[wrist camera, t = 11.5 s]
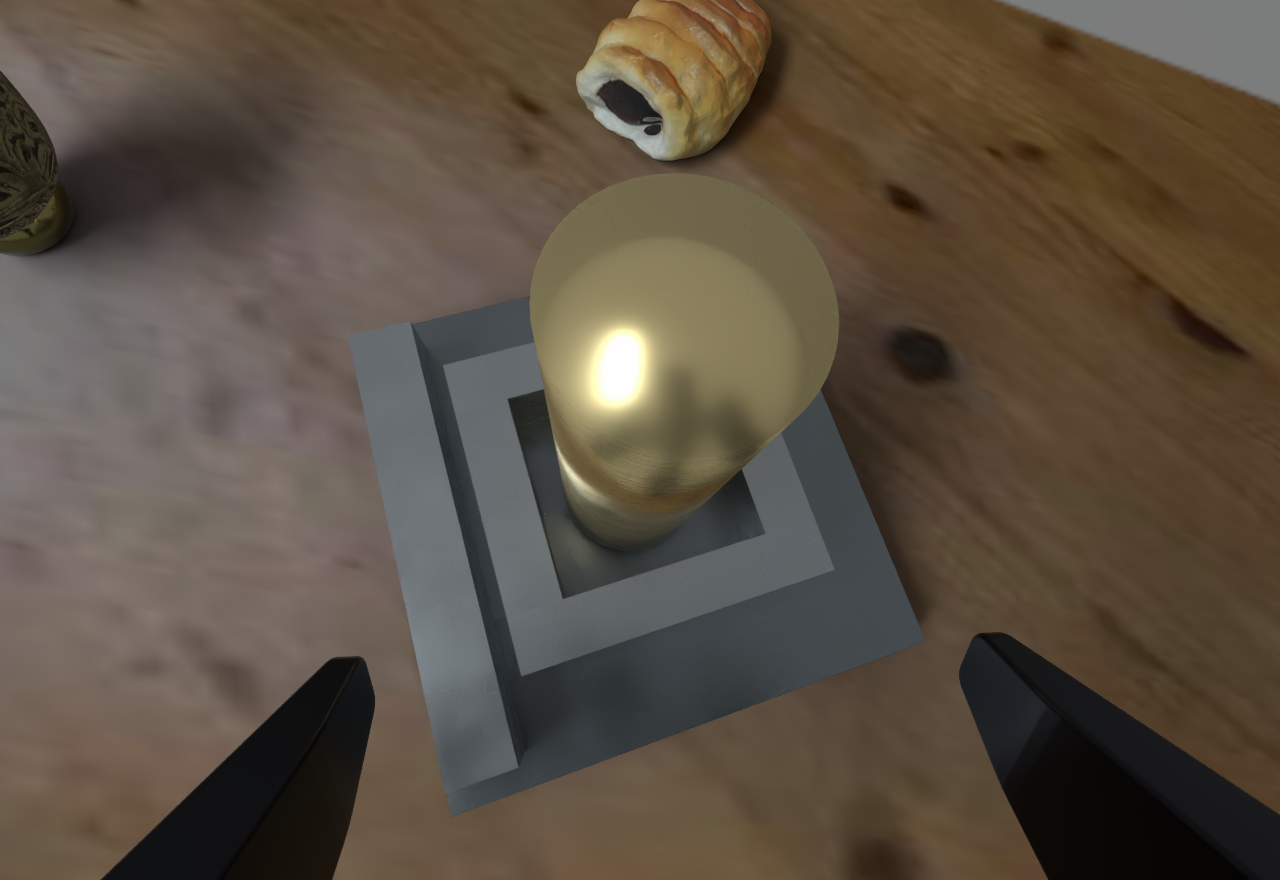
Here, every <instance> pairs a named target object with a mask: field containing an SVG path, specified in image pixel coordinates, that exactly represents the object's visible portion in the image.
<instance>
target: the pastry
mask: <svg viewBox="0 0 1280 880" xmlns="http://www.w3.org/2000/svg"><path fill="white" fill-rule="evenodd" d="M770 44H771V24H770V20H769V18H768V16H767V14H766V12H765V11H764V10H762V9H761V8H760V7H759V6H758V5H757V4H756V3H755V2H754V1H753V0H640V1H638V2H637V3H636V4H635V6H634V7H633V10H632V12H631V14H630V15H629V17H628V18H623V19H615V20H612V21H611V22H610V23H608V25H607V26H606V27H605V29H604V30H603V31H602V32H601V34H600V36H599V39H598V43H597V45H596V48H595V50H594V53H593V55H592V56H591V57H590V59H589V61H588V62H587V64H586V66H585V68H584V69H582V70H581V71H579V72H578V74H577V78H576V85H577V89H578V93H579V95H580V97H581V98H582V99H583V101H584V102H585V103H586V105H587V108H588V109H589V110H591V111H592V112H593V113H594V117H595V119H596V120H598V121H599V122H600V123H601V124H602V125H603V126H604V127H606V128H607V129H609V130H611V131H613V132H615V133H617V134H619V135H621V136H623V137H626V138H628V139H631V140H633V141H634V142H635V143H636V145H637V146H638V147H639V148H640V149H642V150H643V151H644V152H645V153H647V154H648V155H649V156H651V157H652V158H654V159H657V160H662V161H673V160H678V159H686V158H690V157H694V156H698V155H700V154H703V153H705V152H707V151H709V150H711V149H712V148H713V147H714V146H715V145H716V144H717V143H718V142H719V141H720V140H721V139H722V138H723V137H724V136H726V134H727V132H728V130H729V129H730V127H731V126H732V124H733V123H734V121H735V120H736V118H737V117H738V115H739V114H740V113H741V111H742V110H743V109H744V107H745V106H746V104H747V103H748V101H749V99H750V96H751V93H752V92H753V90H754V88H755V85H756V82H757V79H758V77H759V75H760V73H761V71H762V69H763V65H764V62H765V59H766V55H767V52H768V49H769V47H770Z"/></svg>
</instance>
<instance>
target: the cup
mask: <svg viewBox="0 0 1280 880" xmlns="http://www.w3.org/2000/svg"><path fill="white" fill-rule="evenodd" d="M57 174H58V164H57V159H56V154H55V149H54V147H53V144H52V141H51V139H50V137H49V135H48V133H47V131H46V129H45V127H44V126H43V124H42V123H41V121H40V120H39V118H38V116H37V115H36V113H35V112H34V111H33V110H32V108H31V107H30V106H29V104H28V103H27V102H26V101H25V99H24V98H23V97H22V96H21V94H20V93H19V92H18V91H17V89H16V88H15V87H14V86H13V85H12V84H11V82H10V81H9V80H8V79H7V78H6V77H5V75H4V74H3V73H2V72H1V71H0V254H5V255H13V256H22V255H30V254H34V253H38V252H41V251H44V250H46V249H48V248H50V247H51V246H53V245H55V244H56V243H57V242H59V241H60V240H61V239H62V238H63V237H64V236H65V235H66V233H67V232H68V230H69V229H70V227H71V225H72V222H73V218H74V207H73V203H72V201H71V198H70V196H69V194H68V192H67V190H66V189H65V187H64V186H63V184H62V183H61V182H60V181H59V180H58V179H57Z"/></svg>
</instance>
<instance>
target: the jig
mask: <svg viewBox="0 0 1280 880" xmlns="http://www.w3.org/2000/svg"><path fill="white" fill-rule="evenodd" d="M529 302H530V296H529V297H525V298H521V299H516V300H512V301H508V302H504V303H500V304H496V305H491V306H487V307H483V308H479V309H475V310H471V311H466V312H462V313H458V314H454V315H450V316H446V317H442V318H437V319H433V320H429V321H425V322H421V323H417V324H412V323H411V322H410V321H409V322H405V323H401V324H396V325H392V326H388V327H384V328H380V329H375V330H371V331H367V332H363V333H359V334H355V335H350V336H348V338H349V343H350V348H351V352H352V357H353V362H354V367H355V371H356V376H357V381H358V385H359V390H360V395H361V399H362V404H363V409H364V414H365V418H366V423H367V428H368V432H369V437H370V442H371V447H372V451H373V456H374V461H375V465H376V470H377V475H378V479H379V484H380V489H381V494H382V498H383V503H384V508H385V512H386V517H387V522H388V526H389V531H390V536H391V541H392V545H393V550H394V555H395V559H396V564H397V569H398V573H399V578H400V583H401V588H402V592H403V597H404V602H405V606H406V611H407V616H408V620H409V625H410V630H411V635H412V639H413V644H414V649H415V653H416V658H417V663H418V668H419V672H420V677H421V682H422V686H423V691H424V696H425V700H426V705H427V710H428V715H429V719H430V724H431V729H432V733H433V738H434V743H435V747H436V752H437V757H438V762H439V766H440V771H441V776H442V780H443V785H444V790H445V794H447V797H448V801H449V806H450V811H451V815H452V817H453V816H455V815H458V814H461V813H463V812H466V811H469V810H471V809H474V808H477V807H480V806H482V805H485V804H488V803H490V802H493V801H496V800H498V799H501V798H504V797H507V796H509V795H512V794H515V793H517V792H520V791H523V790H526V789H528V788H531V787H534V786H536V785H539V784H542V783H544V782H547V781H550V780H553V779H555V778H558V777H561V776H563V775H566V774H569V773H571V772H574V771H577V770H580V769H582V768H585V767H588V766H590V765H593V764H596V763H598V762H601V761H604V760H607V759H609V758H612V757H615V756H617V755H620V754H623V753H625V752H628V751H631V750H634V749H636V748H639V747H642V746H644V745H647V744H650V743H653V742H655V741H658V740H661V739H663V738H666V737H669V736H671V735H674V734H677V733H680V732H682V731H685V730H688V729H690V728H693V727H696V726H698V725H701V724H704V723H707V722H709V721H712V720H715V719H717V718H720V717H723V716H725V715H728V714H731V713H734V712H736V711H739V710H742V709H744V708H747V707H750V706H752V705H755V704H758V703H761V702H763V701H766V700H769V699H771V698H774V697H777V696H780V695H782V694H785V693H788V692H790V691H793V690H796V689H798V688H801V687H804V686H807V685H809V684H812V683H815V682H817V681H820V680H823V679H825V678H828V677H831V676H834V675H836V674H839V673H842V672H844V671H847V670H850V669H852V668H855V667H858V666H861V665H863V664H866V663H869V662H871V661H874V660H877V659H879V658H882V657H885V656H888V655H890V654H893V653H896V652H898V651H901V650H904V649H906V648H909V647H912V646H915V645H917V644H920V643H923V642H925V638H924V636H923V634H922V631H921V629H920V626H919V624H918V622H917V619H916V617H915V614H914V612H913V610H912V607H911V605H910V602H909V600H908V598H907V595H906V593H905V590H904V588H903V586H902V583H901V581H900V578H899V576H898V574H897V571H896V569H895V566H894V564H893V562H892V559H891V557H890V554H889V552H888V550H887V547H886V545H885V542H884V540H883V538H882V535H881V533H880V530H879V528H878V526H877V523H876V521H875V518H874V516H873V514H872V511H871V509H870V506H869V504H868V502H867V499H866V497H865V494H864V492H863V490H862V487H861V485H860V482H859V480H858V478H857V475H856V473H855V470H854V468H853V466H852V463H851V461H850V458H849V456H848V454H847V451H846V449H845V446H844V444H843V442H842V439H841V437H840V434H839V432H838V429H837V427H836V425H835V422H834V420H833V417H832V415H831V413H830V410H829V408H828V405H827V403H826V401H825V398H824V396H823V393H822V391H821V389H820V391H819V393H818V394H817V395H816V397H815V398H814V399H813V401H812V402H811V403H810V404H809V406H808V407H807V408H806V409H805V410H804V411H803V412H802V413H801V414H800V415H799V416H798V417H797V418H796V419H795V420H794V421H793V422H792V423H790V424H789V425H788V426H787V427H786V428H785V429H784V430H783V431H782V432H781V433H780V434H779V435H778V436H776V437H775V438H774V439H773V440H772V441H771V442H770V443H769V444H768V445H767V446H766V447H765V448H764V449H762V450H761V451H760V452H759V453H758V454H757V455H756V456H755V457H754V458H753V459H752V460H751V461H749V462H748V463H747V464H746V465H745V466H744V467H743V468H742V469H741V470H740V471H739V472H738V473H737V474H735V475H734V476H733V477H732V478H731V479H730V480H729V481H728V482H727V483H726V484H725V485H724V486H723V487H721V488H720V489H719V490H718V491H717V492H716V493H715V494H714V495H713V496H712V497H711V498H710V499H709V500H707V501H706V502H705V503H704V504H703V505H702V506H701V507H700V508H699V509H698V510H697V511H696V512H694V513H693V514H692V515H691V516H690V517H689V518H688V519H687V520H686V521H685V522H684V523H683V524H682V525H680V526H679V527H678V528H677V529H676V530H675V531H674V532H673V533H672V534H671V535H670V536H669V537H667V538H666V539H664V540H663V541H662V542H660V543H658V544H656V545H654V546H651V547H649V548H645V549H641V550H634V551H622V550H616V549H612V548H608V547H605V546H603V545H601V544H599V543H597V542H595V541H594V540H592V539H591V538H589V537H588V536H587V535H586V534H585V533H583V531H582V530H581V529H580V528H579V527H578V526H577V524H576V523H575V521H574V520H573V518H572V516H571V514H570V512H569V509H568V506H567V503H566V498H565V493H564V488H563V483H562V478H561V473H560V468H559V463H558V458H557V453H556V448H555V443H554V438H553V433H552V428H551V422H550V417H549V412H548V407H547V402H546V397H545V392H544V387H543V382H542V377H541V372H540V367H539V362H538V357H537V352H536V347H535V342H534V337H533V332H532V327H531V322H530V303H529Z"/></svg>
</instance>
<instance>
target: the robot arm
mask: <svg viewBox="0 0 1280 880" xmlns="http://www.w3.org/2000/svg"><path fill="white" fill-rule="evenodd" d="M959 679H960V684H961V687H962V690H963V692H964V695H965V697H966V700H967V702H968V705H969V707H970V710H971V712H972V715H973V717H974V720H975V722H976V725H977V727H978V730H979V732H980V735H981V738H982V740H983V743H984V745H985V748H986V750H987V753H988V755H989V758H990V760H991V763H992V765H993V768H994V770H995V773H996V775H997V777H998V780H999V782H1000V784H1001V787H1002V789H1003V791H1004V793H1005V795H1006V797H1007V799H1008V801H1009V803H1010V805H1011V807H1012V809H1013V811H1014V813H1015V815H1016V817H1017V819H1018V821H1019V823H1020V825H1021V827H1022V829H1023V831H1024V833H1025V835H1026V837H1027V839H1028V841H1029V843H1030V845H1031V847H1032V849H1033V851H1034V853H1035V855H1036V857H1037V859H1038V860H1039V862H1040V864H1041V866H1042V868H1043V870H1044V872H1045V874H1046V876H1047V878H1048V880H1280V815H1279V814H1278V813H1276V812H1275V811H1273V810H1272V809H1270V808H1269V807H1267V806H1266V805H1264V804H1263V803H1261V802H1260V801H1258V800H1257V799H1255V798H1254V797H1252V796H1251V795H1249V794H1248V793H1246V792H1245V791H1243V790H1242V789H1240V788H1239V787H1237V786H1236V785H1234V784H1233V783H1231V782H1229V781H1228V780H1226V779H1225V778H1223V777H1222V776H1220V775H1219V774H1217V773H1216V772H1214V771H1213V770H1211V769H1210V768H1208V767H1207V766H1205V765H1204V764H1202V763H1201V762H1199V761H1198V760H1196V759H1195V758H1193V757H1192V756H1190V755H1189V754H1187V753H1186V752H1184V751H1183V750H1181V749H1180V748H1178V747H1177V746H1175V745H1174V744H1172V743H1171V742H1169V741H1168V740H1166V739H1165V738H1163V737H1162V736H1160V735H1159V734H1157V733H1156V732H1154V731H1153V730H1151V729H1150V728H1148V727H1147V726H1145V725H1144V724H1142V723H1141V722H1139V721H1138V720H1136V719H1135V718H1133V717H1132V716H1130V715H1129V714H1127V713H1126V712H1124V711H1123V710H1121V709H1120V708H1118V707H1117V706H1115V705H1114V704H1112V703H1111V702H1109V701H1108V700H1106V699H1105V698H1103V697H1102V696H1100V695H1099V694H1097V693H1096V692H1094V691H1093V690H1091V689H1090V688H1088V687H1086V686H1085V685H1083V684H1082V683H1080V682H1079V681H1077V680H1076V679H1074V678H1073V677H1071V676H1070V675H1068V674H1067V673H1065V672H1064V671H1062V670H1061V669H1059V668H1058V667H1056V666H1055V665H1053V664H1052V663H1050V662H1049V661H1047V660H1046V659H1044V658H1043V657H1041V656H1040V655H1038V654H1037V653H1035V652H1034V651H1032V650H1031V649H1029V648H1028V647H1026V646H1025V645H1023V644H1022V643H1020V642H1019V641H1017V640H1016V639H1014V638H1013V637H1011V636H1009V635H1008V634H1005V633H1001V632H994V633H979V634H977V635H975V636H974V637H973V639H972V641H971V643H970V646H969V648H968V650H967V653H966V655H965V657H964V660H963V662H962V664H961V667H960V671H959ZM374 709H375V694H374V690H373V686H372V683H371V679H370V676H369V672H368V668H367V665H366V662H365V660H364V659H363V658H362V657H359V656H350V657H335V658H332V659H330V660H329V661H327V662H326V663H325V664H324V665H323V666H322V667H321V668H320V669H319V670H318V671H317V672H316V673H315V674H314V675H313V676H312V677H310V678H309V679H308V680H307V681H306V682H305V683H304V684H303V685H302V686H301V687H300V688H299V689H298V690H297V691H296V692H295V693H294V694H293V695H292V696H291V697H290V698H289V699H288V700H287V701H286V702H285V703H283V704H282V705H281V706H280V707H279V708H278V709H277V710H276V711H275V712H274V713H273V714H272V715H271V716H270V717H269V718H268V719H267V720H266V721H265V722H264V723H263V724H262V725H261V726H260V727H259V728H258V729H257V730H255V731H254V732H253V733H252V734H251V735H250V736H249V737H248V738H247V739H246V740H245V741H244V742H243V743H242V744H241V745H240V746H239V747H238V748H237V749H236V750H235V751H234V752H233V753H232V754H231V755H230V756H228V757H227V758H226V759H225V760H224V761H223V762H222V763H221V764H220V765H219V766H218V767H217V768H216V769H215V770H214V771H213V772H212V773H211V774H210V775H209V776H208V777H207V778H206V779H205V780H204V781H203V782H201V783H200V784H199V785H198V786H197V787H196V788H195V789H194V790H193V791H192V792H191V793H190V794H189V795H188V796H187V797H186V798H185V799H184V800H183V801H182V802H181V803H180V804H179V805H178V806H177V807H176V808H175V809H173V810H172V811H171V812H170V813H169V814H168V815H167V816H166V817H165V818H164V819H163V820H162V821H161V822H160V823H159V824H158V825H157V826H156V827H155V828H154V829H153V830H152V831H151V832H150V833H149V834H148V835H146V836H145V837H144V838H143V839H142V840H141V841H140V842H139V843H138V844H137V845H136V846H135V847H134V848H133V849H132V850H131V851H130V852H129V853H128V854H127V855H126V856H125V857H124V858H123V859H122V860H121V861H120V862H118V863H117V864H116V865H115V866H114V867H113V868H112V869H111V870H110V871H109V872H108V873H107V874H106V875H105V876H104V877H103V878H102V879H101V880H332V879H333V876H334V873H335V869H336V866H337V863H338V860H339V857H340V854H341V851H342V848H343V845H344V841H345V838H346V835H347V831H348V828H349V824H350V820H351V816H352V812H353V807H354V803H355V798H356V794H357V789H358V784H359V780H360V775H361V770H362V766H363V761H364V756H365V752H366V747H367V742H368V738H369V733H370V728H371V724H372V719H373V714H374Z"/></svg>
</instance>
